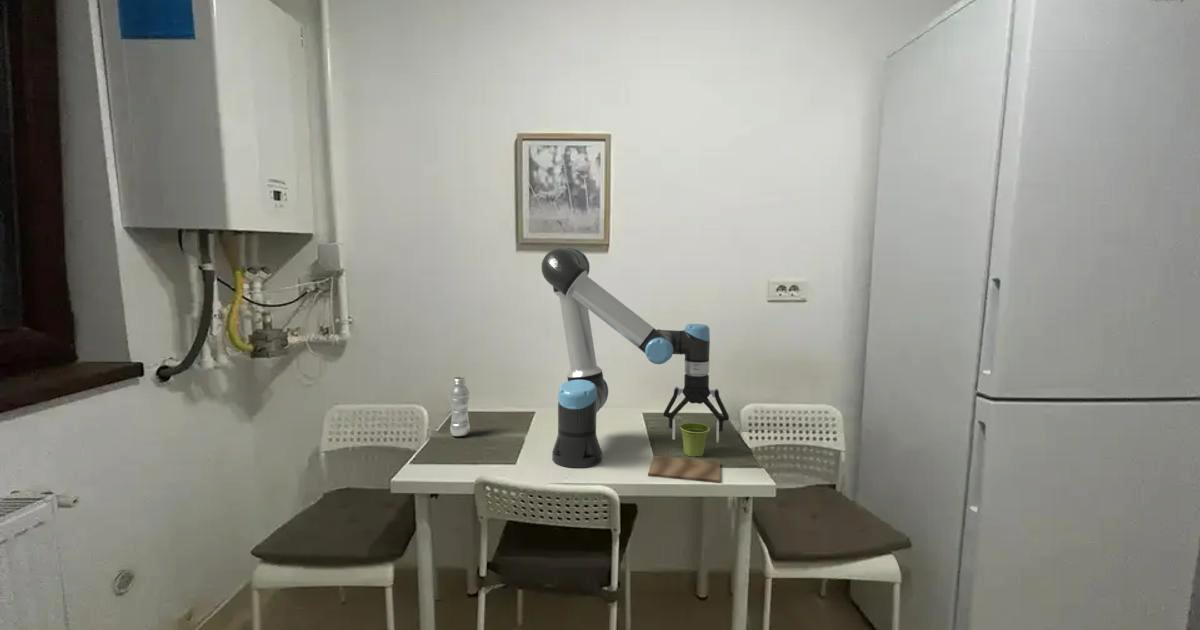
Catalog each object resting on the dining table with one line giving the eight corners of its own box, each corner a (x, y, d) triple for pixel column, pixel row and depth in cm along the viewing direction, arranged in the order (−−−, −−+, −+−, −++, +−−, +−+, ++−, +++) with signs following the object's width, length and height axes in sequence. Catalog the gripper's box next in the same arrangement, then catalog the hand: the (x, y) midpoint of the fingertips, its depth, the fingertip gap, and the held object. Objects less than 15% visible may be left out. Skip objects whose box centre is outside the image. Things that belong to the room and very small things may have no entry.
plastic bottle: (446, 437, 192) (445, 379, 190) (457, 431, 199) (456, 375, 196) (463, 439, 191) (462, 381, 188) (473, 433, 197) (472, 376, 195)
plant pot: (713, 452, 182) (714, 425, 181) (702, 461, 174) (703, 434, 173) (685, 446, 187) (686, 420, 186) (674, 455, 179) (675, 428, 178)
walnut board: (647, 475, 163) (648, 473, 162) (653, 458, 176) (653, 455, 176) (719, 482, 158) (719, 480, 158) (719, 464, 172) (719, 461, 172)
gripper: (655, 374, 176) (654, 440, 179) (738, 378, 171) (736, 446, 174) (658, 369, 184) (657, 433, 186) (737, 372, 178) (735, 438, 181)
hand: (695, 439), depth 180 cm, fingers open, 13 cm apart
